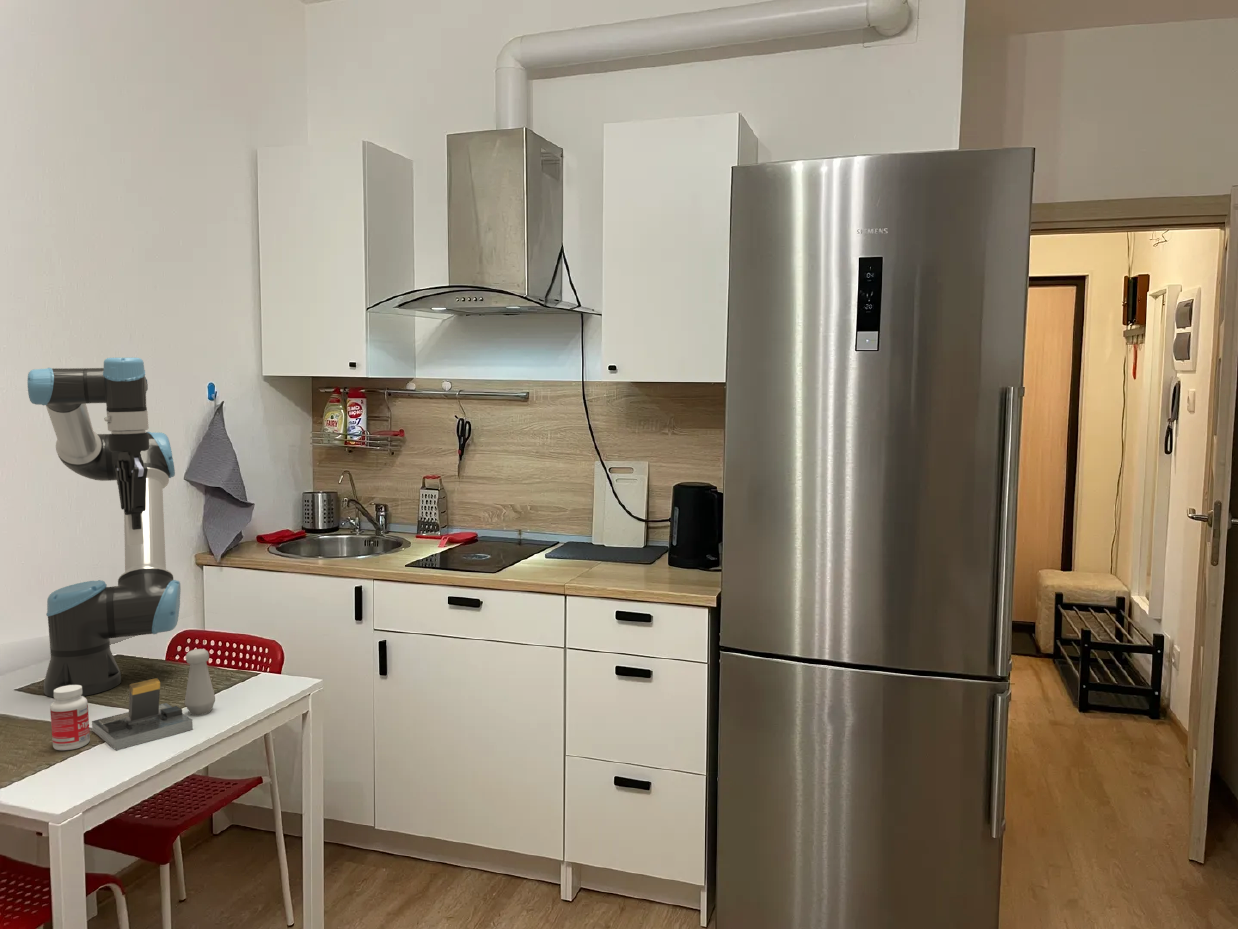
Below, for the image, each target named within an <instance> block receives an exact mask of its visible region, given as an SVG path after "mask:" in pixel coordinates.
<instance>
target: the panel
mask: <svg viewBox="0 0 1238 929" xmlns="http://www.w3.org/2000/svg"><path fill="white" fill-rule="evenodd" d="M159 710H160V712H161V715H160V716H157V717H153V718H149V719H145V720H141V721H137V722H133V723H129V724H127V722H126V718H127V717H128V716H129V711H127V712H123V713H120V714H119V713H118V714H114V715H111V716H107V717H103V718H100V719H94V720H91V729H92V732H93V733H95V735H97V736H98V737H99V738H100V739H102V740H103V741H104V742H106V743H107V744H108V745H109V746H111V747H112V748H113V749H114V750H116V751H118V750H122V749H125V748H129V747H133V746H136V745H139V744H144V743H147V742H152V741H156V740H159V739H162V738H166V737H170V736H174V735H177V734H181V733H185V732H188V731H193V730H194V725H193V719H192V718H190V717H189V716H188V715H186V714H184V713H183V709H182V708H181V707H179V706H178V705H174V706H172V705H170V704H168V703H167V702H165V703H159Z"/></svg>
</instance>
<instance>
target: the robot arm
mask: <svg viewBox="0 0 1238 929" xmlns="http://www.w3.org/2000/svg"><path fill="white" fill-rule="evenodd" d="M26 381H27V392H28V393H27V394H28V399H29V402H30V403H31V404H33V405H35V406H36V405H38V406H39V405H41V406H45V407H46V410H47V414H48V416H49V420H50V421H51V424H52V427H53V428H52V429H53V431H54V433H55V436H56V439H57V440H56V442H55V451H56V453H57V455H58V458H59V460H60V461H61V463H62V464H63V465H64V466H66V467H67V468H68V469H69V470H70V471H72V472H74V473H75V474H76V475H77V474H78V475H80V476H82V477H85V478H86V479H87V478H88V479H89V480H94V481H99V482H106V481H110V482H111V481H116V485H117V489H118V496H119V501H120V509H121V510H123V521H124V524H123V526H124V527H123V528H124V530H123V531H124V572H123V573H122V574H121V575H120V576H119V577H118V579H117V585H116V586H114V585H113V586H107V583H106V582H105V581H104V580H101V579H99V580H88V581H83V582H79V583H73V584H69V585H66V586H62V587H61V588H58V589H56V590H54V591H53V592H51V593H50V594H49V595H48V597H47V604H46V605H47V606H46V610H47V611H46V617H47V621H48V622H47V624H48V626H47V627H48V634H49V636H48V637H49V648H50V649H49V650H50V660H49V662H48V666H47V670H46V674H45V677H44V681H43V694H44V695H45V696H46V697H50V698H54V690H55V689H56V688H59V687H62V686H67V685H81V686H82V695H81V696H83V697H85V696H90V695H95V694H99V693H103V692H105V691H108V690H111V689H113V688H116V687H117V686H119V685H120V683H121V682H122V674H121V670H120V668H119V666H118V664H117V661H116V659H115V656H114V655H113V653H112V651H111V646H110V645H111V642H110V639H118V638H124V637H134V636H144V635H146V636H147V635H157V634H159V633H165V632H166V633H167V632H171V631H172V630H174V629H175V628H176V627H177V625H178V623H179V622H178V621H179V616H180V608H181V607H180V605H181V581H179V580H176V579H174V575H173V573H172V572H171V571H170V570H168V569H167V567H166V566H167V564H166V563H167V562H166V540H165V538H166V537H165V519H164V518H165V516H164V514H165V512H164V492H163V491H164V490H163V489H165V488H167V486H168V484H169V482H170V479H172V478H174V477H175V476H176V472H175V471H176V470H175V462H174V459H173V452H172V446H171V443H170V439H169V437H168V435H167V434H165V433H163V432H150V431H148V430H149V416H148V415H149V412H148V407H147V391H148V386H149V385H148V384H149V383H148V379H147V378H146V370H145V364H144V360H143V359H142V358H141V357H107V358H105V359H104V360H103V367H89V368H88V367H85V368H84V367H81V368H79V367H77V368H71V367H70V368H63V367H62V368H61V367H60V368H57V367H56V368H54V367H53V368H52V367H47V368H34V369H31V370H29V372H28V373H27V380H26ZM87 404H106V408H105V409H106V417H105V416H104V421H105V422H106V423H107V431H108V432H111V433H96V431H94V429H93V425H92V421H91V418H90V413H89V410H88V406H87Z"/></svg>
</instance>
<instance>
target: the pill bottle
mask: <svg viewBox="0 0 1238 929" xmlns="http://www.w3.org/2000/svg"><path fill="white" fill-rule="evenodd" d="M81 695H82V686H81V685H67V686H62V687H59V688H56V689H55V690H54V697H53V699H54V701H53V702H51V704H50V707H49V708H50V709H49V710H50V724H51V725H50V727H51V738H52V740H51V741H52V747H53V749H54V750H56V751H71V750H77V749H79V748H82V747H84V746H87V744H89V742H90V740H91V736H90V733H91V732H90V731H91V730H90V720H89V719H90V718H89V717H90V716H89V706H88V705H89V704H88V699H87V698H86V697H85V696H81Z"/></svg>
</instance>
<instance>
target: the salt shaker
mask: <svg viewBox="0 0 1238 929" xmlns="http://www.w3.org/2000/svg"><path fill="white" fill-rule="evenodd" d="M209 659H210V654H209V651H208V650H206V648H205V649H204V648H196V649H191V650H190V651H188V652H187V653H186V654H185V661H186V663H187V664H189V669H188V677H187V683H186V688H185V689H186V690H185V698H184V706H185V707H186V709H187V710H188V712H189V714H190V716H191V715H192V716H201V715H206V714H209V713H210V712H211V711H212V710H213V707H214V704H215V701H216V695H215V691H214V687H213V684H212V680H211V676H210V672H209V668H208V664H207V662H208V660H209Z"/></svg>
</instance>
